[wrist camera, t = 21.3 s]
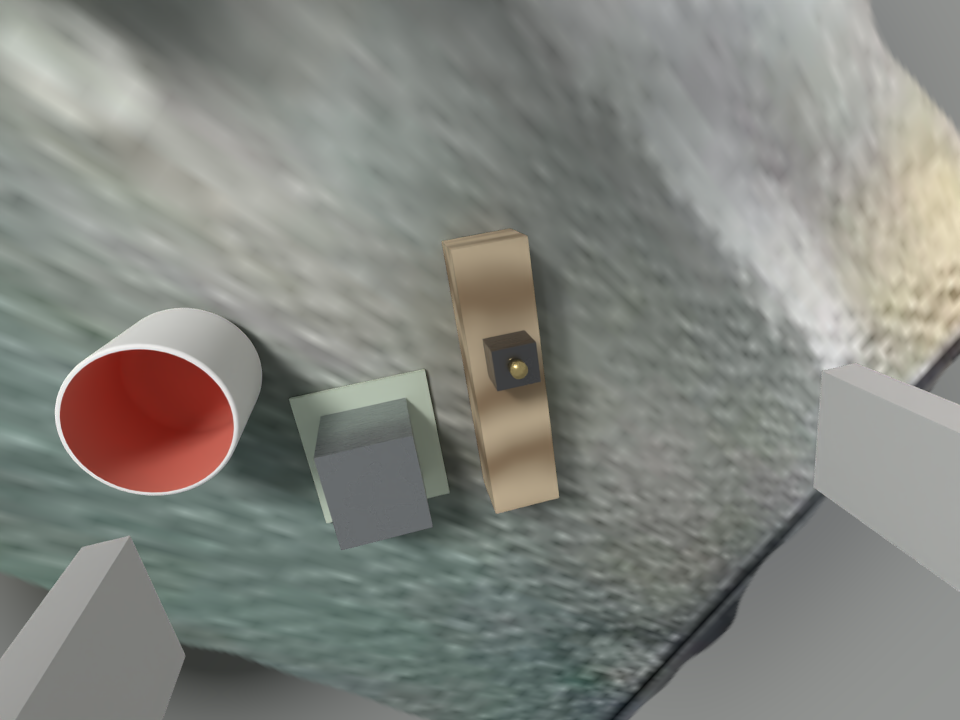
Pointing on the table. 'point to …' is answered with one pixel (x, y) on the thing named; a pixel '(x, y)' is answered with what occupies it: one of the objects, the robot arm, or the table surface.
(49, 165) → the table surface
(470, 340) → the long wooden block
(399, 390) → the mat
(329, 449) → the gray cube on plate
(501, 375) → the latch
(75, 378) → the cup
